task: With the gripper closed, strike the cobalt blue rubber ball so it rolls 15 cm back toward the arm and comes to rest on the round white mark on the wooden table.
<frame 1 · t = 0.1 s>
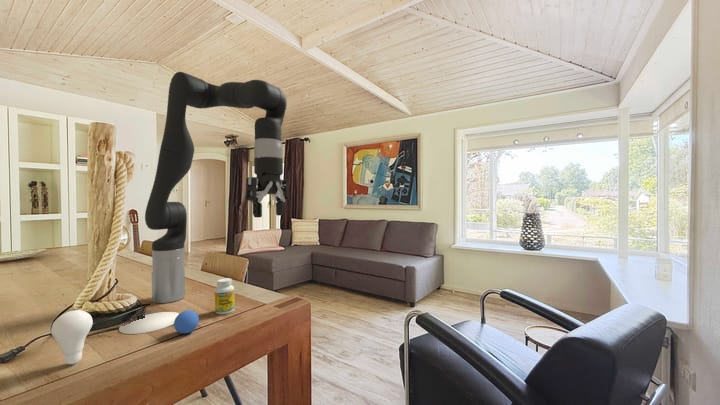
hand: (269, 216, 80), 29 cm above the table, tool pointing down, fingers open, 8 cm apart
supplement bottle: (225, 312, 88), on the table
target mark: (151, 322, 81), on the table
lightbulb: (73, 364, 60), on the table
ball: (186, 321, 74), on the table
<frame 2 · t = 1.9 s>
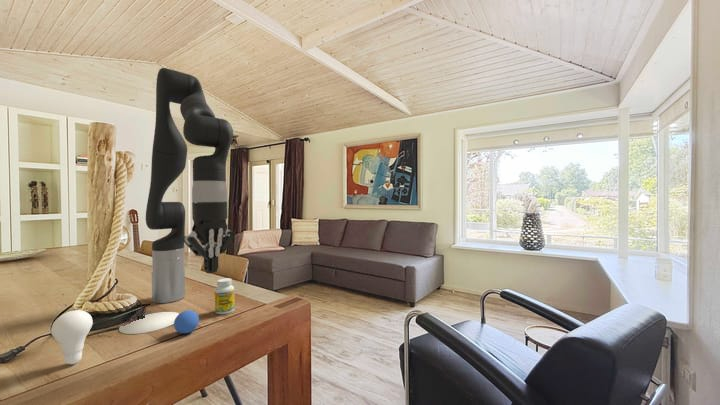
hand: (211, 272, 70), 16 cm above the table, tool pointing down, fingers closed
nothing on the table moved.
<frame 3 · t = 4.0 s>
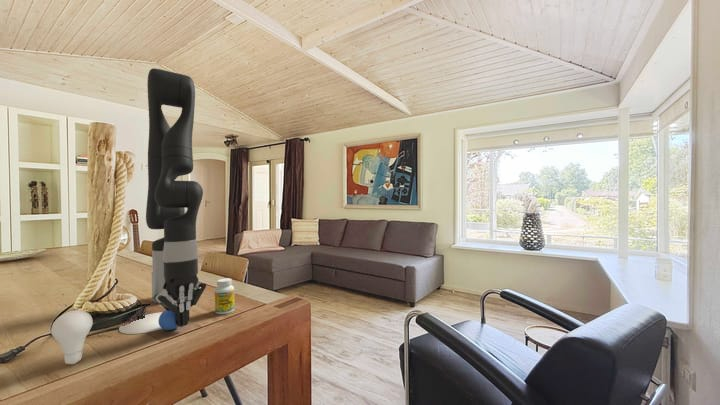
hand: (182, 325, 75), 2 cm above the table, tool pointing down, fingers closed
ball: (171, 318, 76), on the table
everything else where it was.
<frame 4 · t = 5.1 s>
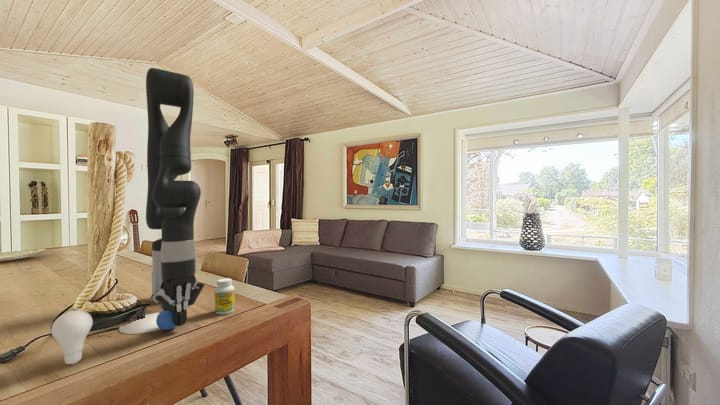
hand: (179, 324, 75), 2 cm above the table, tool pointing down, fingers closed
ball: (169, 318, 76), on the table, touching gripper
everything else where it was.
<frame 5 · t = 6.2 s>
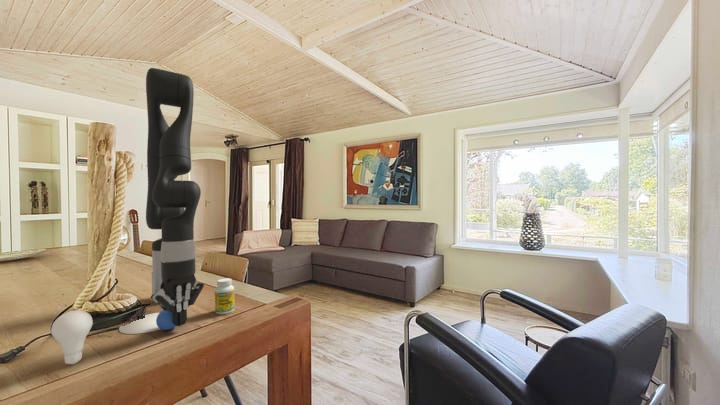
hand: (179, 324, 75), 2 cm above the table, tool pointing down, fingers closed
nothing on the table moved.
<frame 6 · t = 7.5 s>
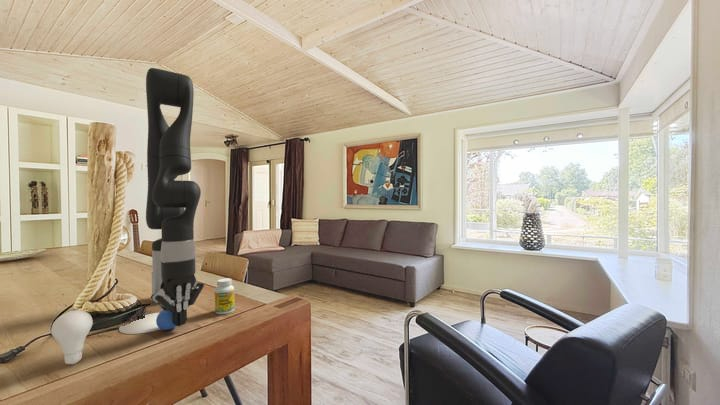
hand: (179, 324, 75), 2 cm above the table, tool pointing down, fingers closed
nothing on the table moved.
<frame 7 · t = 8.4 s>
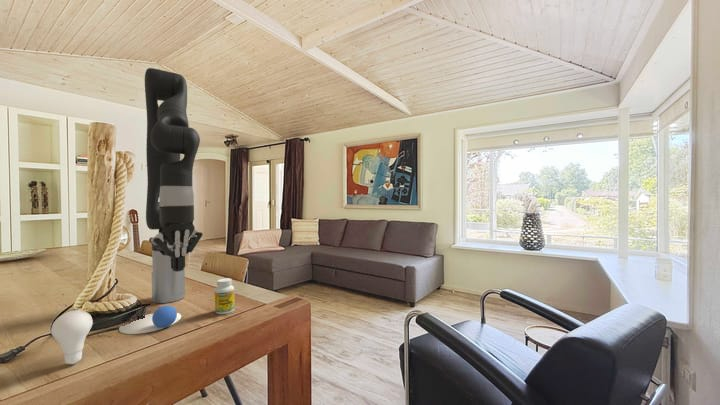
hand: (178, 270, 75), 16 cm above the table, tool pointing down, fingers closed
ball: (164, 316, 78), on the table
everything else where it was.
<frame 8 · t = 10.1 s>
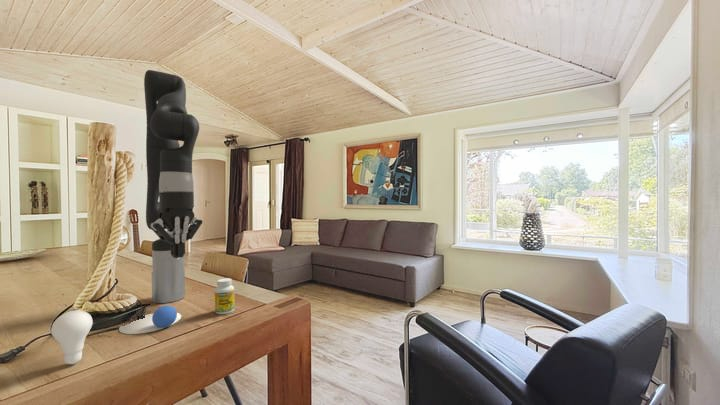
hand: (178, 257, 75), 19 cm above the table, tool pointing down, fingers closed
nothing on the table moved.
at the end: ball 6.3 cm from the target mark (horizontally); ball at rest at the end (0.0 cm/s); ball moved 8.7 cm from its start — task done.
